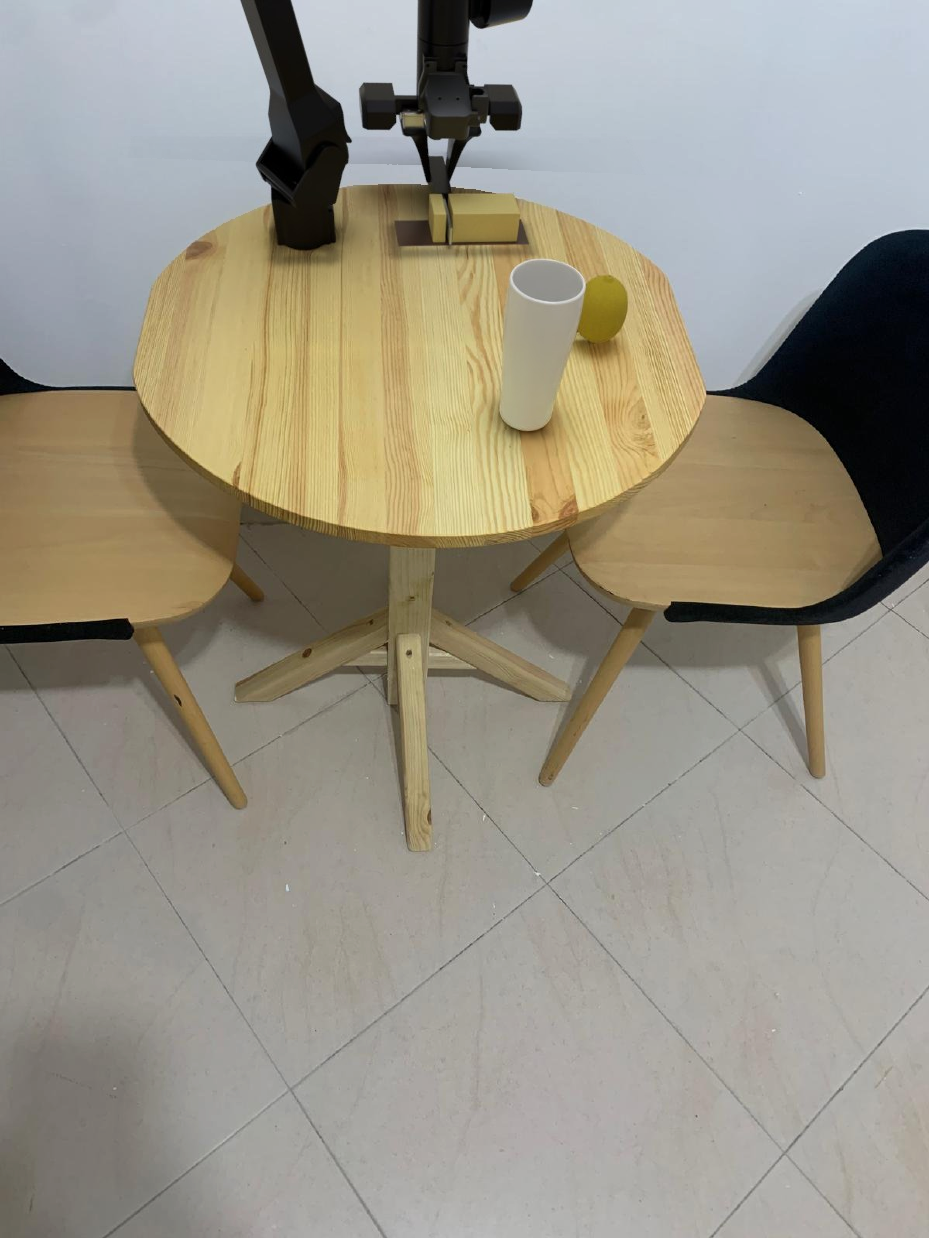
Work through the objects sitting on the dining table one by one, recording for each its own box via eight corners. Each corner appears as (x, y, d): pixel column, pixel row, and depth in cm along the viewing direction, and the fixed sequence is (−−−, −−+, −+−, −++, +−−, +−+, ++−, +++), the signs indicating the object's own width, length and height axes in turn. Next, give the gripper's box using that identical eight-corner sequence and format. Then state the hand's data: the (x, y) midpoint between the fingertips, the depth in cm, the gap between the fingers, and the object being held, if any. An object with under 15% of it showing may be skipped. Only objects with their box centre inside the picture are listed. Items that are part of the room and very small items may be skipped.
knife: (441, 244, 92) (442, 225, 90) (425, 175, 100) (426, 156, 98) (459, 244, 92) (460, 225, 90) (442, 175, 101) (443, 156, 99)
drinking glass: (499, 442, 76) (518, 306, 64) (485, 396, 80) (500, 259, 67) (565, 435, 77) (597, 301, 65) (548, 390, 81) (575, 255, 68)
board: (398, 254, 93) (398, 246, 92) (394, 228, 96) (394, 220, 95) (528, 252, 95) (529, 244, 94) (520, 226, 98) (521, 219, 97)
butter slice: (432, 243, 93) (433, 214, 90) (428, 222, 95) (429, 193, 92) (445, 242, 93) (446, 214, 90) (440, 222, 95) (441, 193, 92)
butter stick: (451, 242, 93) (453, 214, 90) (447, 222, 95) (448, 193, 92) (516, 241, 94) (520, 213, 91) (510, 221, 96) (513, 193, 94)
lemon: (620, 360, 84) (638, 294, 78) (569, 356, 84) (584, 290, 77) (615, 328, 87) (633, 262, 81) (567, 325, 87) (580, 258, 80)
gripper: (362, 66, 79) (368, 216, 92) (540, 69, 82) (520, 215, 95) (355, 22, 85) (361, 169, 98) (521, 26, 88) (505, 168, 101)
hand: (437, 181), depth 98 cm, fingers closed on knife, 2 cm apart
